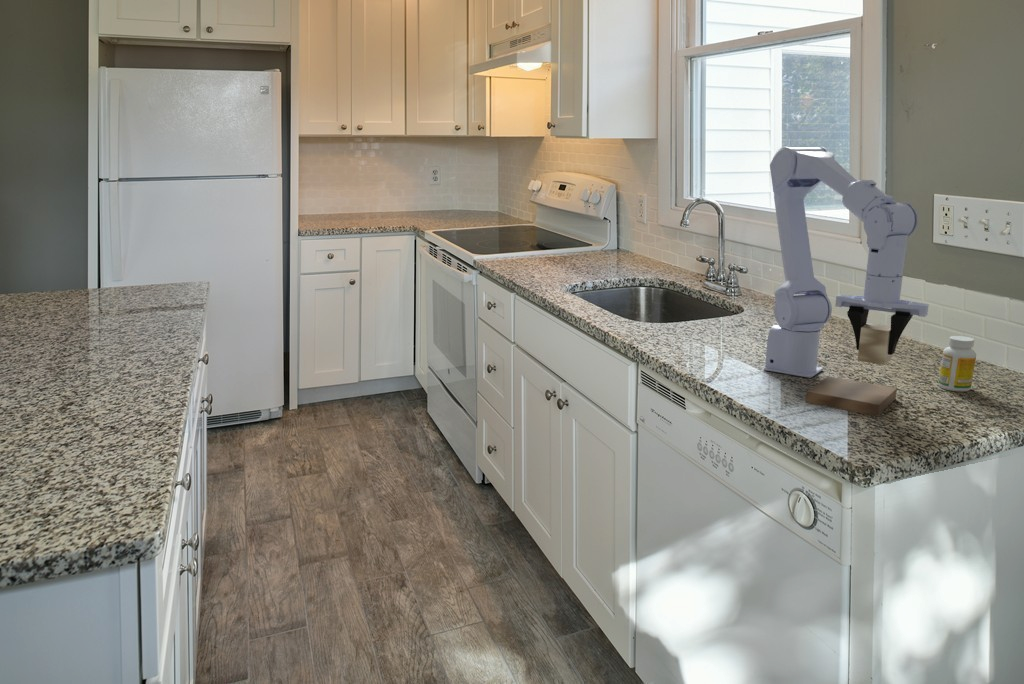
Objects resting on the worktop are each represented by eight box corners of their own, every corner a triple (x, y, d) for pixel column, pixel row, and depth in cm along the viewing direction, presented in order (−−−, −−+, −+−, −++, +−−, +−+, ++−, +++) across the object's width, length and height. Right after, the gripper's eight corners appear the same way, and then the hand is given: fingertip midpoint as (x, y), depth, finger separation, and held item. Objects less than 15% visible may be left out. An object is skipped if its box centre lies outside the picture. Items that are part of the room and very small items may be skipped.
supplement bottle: (934, 388, 146) (941, 338, 143) (942, 382, 149) (949, 333, 147) (966, 394, 142) (974, 343, 140) (974, 387, 146) (981, 338, 144)
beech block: (857, 360, 137) (861, 327, 135) (864, 355, 140) (867, 323, 139) (884, 364, 134) (888, 331, 133) (891, 359, 138) (895, 326, 136)
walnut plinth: (805, 402, 137) (806, 391, 137) (826, 386, 147) (827, 376, 146) (877, 416, 130) (879, 404, 130) (895, 398, 139) (897, 388, 139)
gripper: (833, 273, 135) (825, 349, 138) (926, 282, 126) (915, 362, 129) (845, 268, 140) (837, 341, 144) (934, 276, 132) (924, 354, 135)
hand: (875, 351), depth 137 cm, fingers closed on beech block, 4 cm apart
